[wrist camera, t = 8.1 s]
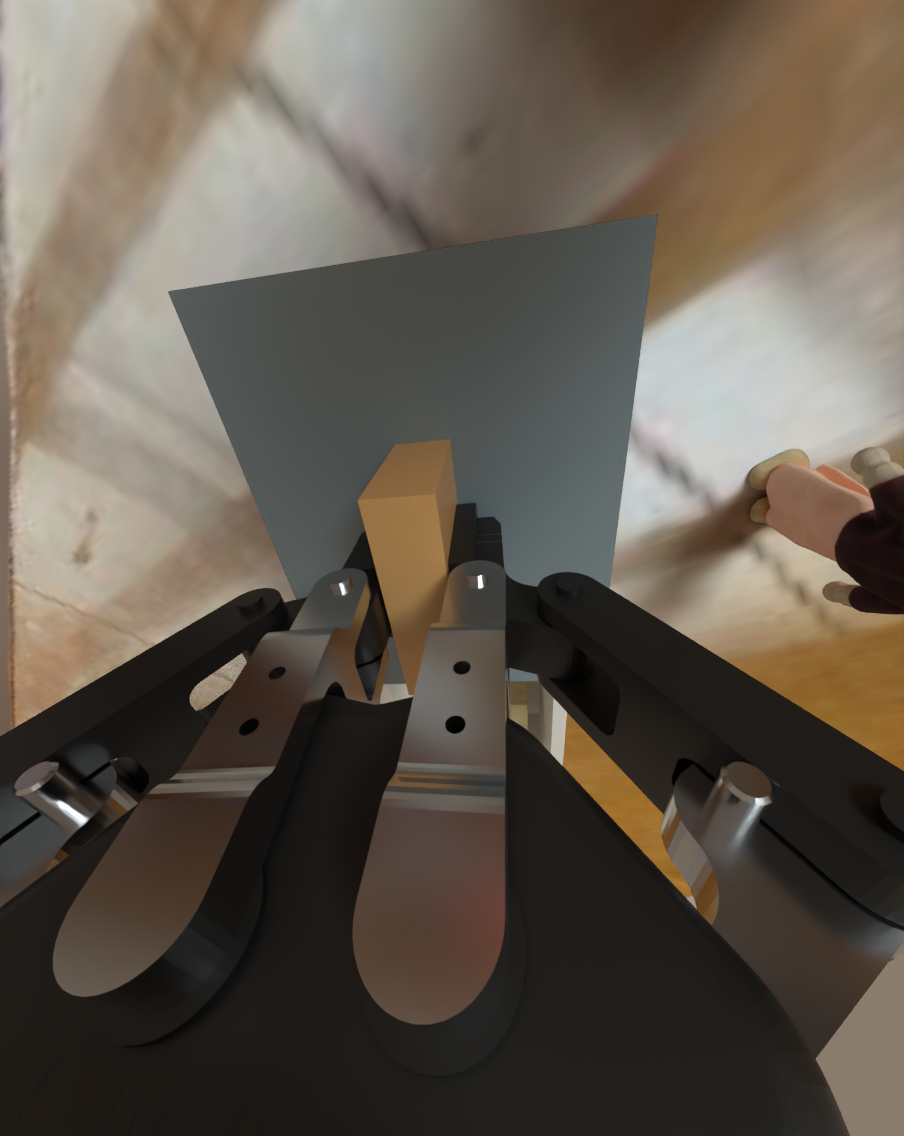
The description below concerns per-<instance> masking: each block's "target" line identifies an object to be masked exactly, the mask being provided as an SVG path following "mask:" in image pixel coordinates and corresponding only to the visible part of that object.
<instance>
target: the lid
mask: <svg viewBox="0 0 904 1136" xmlns="http://www.w3.org/2000/svg"><path fill="white" fill-rule="evenodd" d="M657 219H658V214H655V215H648V216H642V217H636V218H629V219H623V220H617V221H610V222H604V223H598V224H591V225H585V226H579V227H572V228H566V229H560V230H554V231H547V232H541V233H535V234H528V235H522V236H516V237H509V238H503V239H497V240H490V241H484V242H478V243H471V244H465V245H459V246H452V247H446V248H440V249H433V250H427V251H421V252H414V253H408V254H402V255H395V256H389V257H383V258H376V259H370V260H364V261H358V262H351V263H345V264H339V265H332V266H326V267H320V268H313V269H307V270H301V271H294V272H288V273H282V274H275V275H269V276H263V277H256V278H250V279H244V280H237V281H231V282H225V283H218V284H212V285H206V286H199V287H193V288H187V289H181V290H174V291H168V293H169V295H170V297H171V300H172V302H173V305H174V307H175V309H176V312H177V314H178V317H179V319H180V321H181V324H182V326H183V329H184V331H185V333H186V336H187V338H188V341H189V343H190V345H191V348H192V350H193V353H194V355H195V357H196V360H197V362H198V365H199V367H200V369H201V372H202V374H203V377H204V379H205V381H206V384H207V386H208V389H209V391H210V393H211V396H212V398H213V401H214V403H215V405H216V408H217V410H218V413H219V415H220V417H221V420H222V422H223V425H224V427H225V429H226V432H227V434H228V437H229V439H230V441H231V444H232V446H233V449H234V451H235V453H236V456H237V458H238V461H239V463H240V465H241V468H242V470H243V473H244V475H245V477H246V480H247V482H248V485H249V487H250V489H251V492H252V494H253V496H254V499H255V501H256V504H257V506H258V508H259V511H260V513H261V516H262V518H263V520H264V523H265V525H266V528H267V530H268V532H269V535H270V537H271V540H272V542H273V544H274V547H275V549H276V552H277V554H278V556H279V559H280V561H281V564H282V566H283V568H284V571H285V573H286V576H287V578H288V580H289V583H290V585H291V588H292V590H293V592H294V595H295V597H296V600H297V599H301V598H305V597H308V595H309V594H310V592H311V590H312V588H313V586H314V585H315V583H316V582H317V581H318V580H319V579H320V578H322V577H323V576H325V575H327V574H329V573H331V572H333V571H337V570H341V569H342V568H343V566H344V564H345V563H346V561H347V559H348V557H349V555H350V553H351V552H353V548H354V546H355V544H357V541H358V539H359V537H360V535H361V534H362V533H363V532H364V531H366V534H367V538H368V542H369V546H370V550H371V553H372V557H373V561H374V565H375V569H376V572H377V576H378V580H379V584H380V587H381V591H382V595H383V599H384V603H385V606H386V610H387V614H388V618H389V622H390V625H391V629H392V633H393V637H389V640H388V643H387V648H388V651H389V661H388V665H387V670H386V674H385V679H384V684H406V686H407V690H408V694H409V695H414V692H415V688H416V683H417V679H418V675H419V671H420V666H421V662H422V658H423V653H424V649H425V645H426V640H427V636H428V632H429V628H430V625H431V624H432V623H439V622H440V617H441V612H442V607H443V602H444V597H445V593H446V588H447V583H448V578H449V569H448V558H449V551H450V544H451V537H452V531H453V524H454V517H455V510H456V504H466V503H476V505H477V515H478V518H481V517H494V518H495V519H496V520H497V521H499V522H500V523H501V533H502V545H503V557H504V569H505V572H506V574H507V575H508V576H509V577H510V578H511V579H513V580H515V581H516V582H519V583H522V584H525V585H530V586H537V587H538V584H539V582H540V581H541V580H542V579H543V578H545V577H547V576H549V575H551V574H554V573H559V572H575V573H580V574H584V575H587V576H589V577H591V578H593V579H595V580H596V581H598V582H599V583H601V584H603V585H604V586H606V587H608V588H609V587H610V579H611V571H612V564H613V556H614V548H615V541H616V533H617V525H618V518H619V510H620V502H621V495H622V487H623V479H624V472H625V464H626V456H627V449H628V441H629V433H630V426H631V418H632V410H633V403H634V395H635V387H636V380H637V372H638V364H639V357H640V349H641V341H642V334H643V326H644V318H645V311H646V303H647V295H648V288H649V280H650V272H651V265H652V257H653V249H654V242H655V234H656V226H657ZM512 681H539V680H538V677H537V674H533V673H529V672H524V671H520V670H516V669H512V668H510V682H512Z"/></svg>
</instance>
